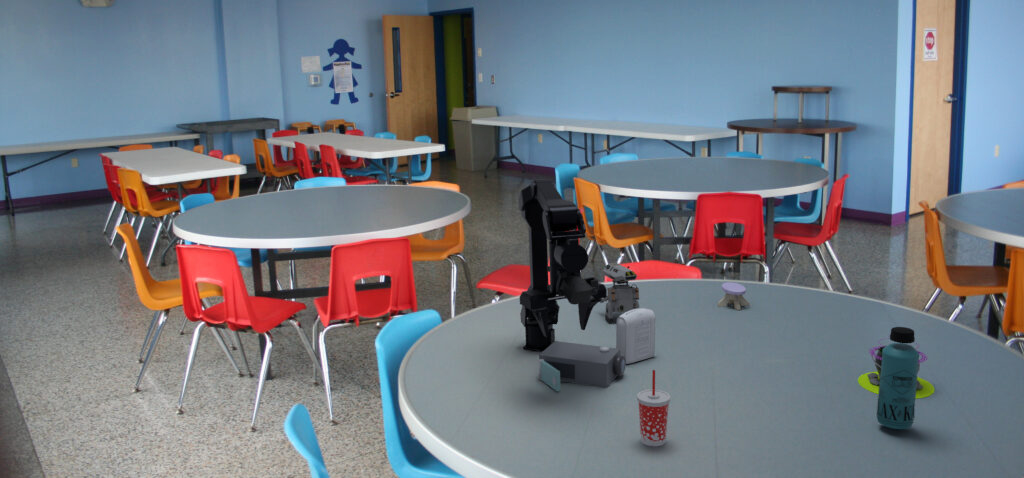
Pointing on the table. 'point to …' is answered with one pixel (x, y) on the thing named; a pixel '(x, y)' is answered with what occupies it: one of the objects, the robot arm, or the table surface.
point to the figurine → (620, 291)
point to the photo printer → (636, 334)
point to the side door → (549, 375)
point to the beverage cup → (653, 415)
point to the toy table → (733, 295)
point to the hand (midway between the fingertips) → (564, 333)
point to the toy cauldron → (872, 378)
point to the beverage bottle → (898, 380)
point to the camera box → (585, 363)
